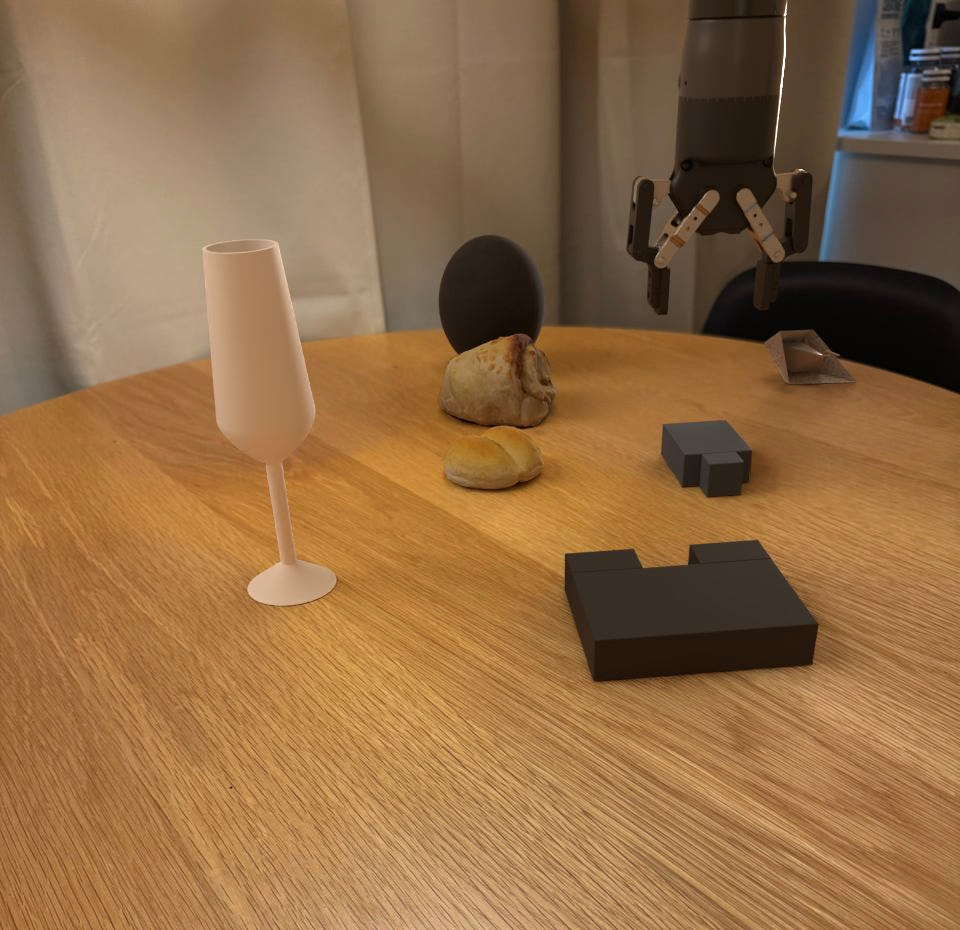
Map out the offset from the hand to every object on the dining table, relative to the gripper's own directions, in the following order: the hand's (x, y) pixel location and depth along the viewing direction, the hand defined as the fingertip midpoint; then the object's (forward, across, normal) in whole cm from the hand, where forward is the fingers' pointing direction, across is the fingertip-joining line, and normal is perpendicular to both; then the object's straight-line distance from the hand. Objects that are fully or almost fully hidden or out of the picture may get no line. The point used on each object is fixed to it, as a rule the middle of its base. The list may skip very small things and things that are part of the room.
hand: (710, 310), depth 84 cm
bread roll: (+14, -18, +3) cm, 23 cm away
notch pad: (+14, -8, -26) cm, 31 cm away
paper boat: (+14, +18, +22) cm, 32 cm away
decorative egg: (+14, -15, +36) cm, 41 cm away
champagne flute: (+15, -35, -16) cm, 42 cm away
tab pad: (+14, +1, -1) cm, 14 cm away
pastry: (+14, -16, +21) cm, 30 cm away
